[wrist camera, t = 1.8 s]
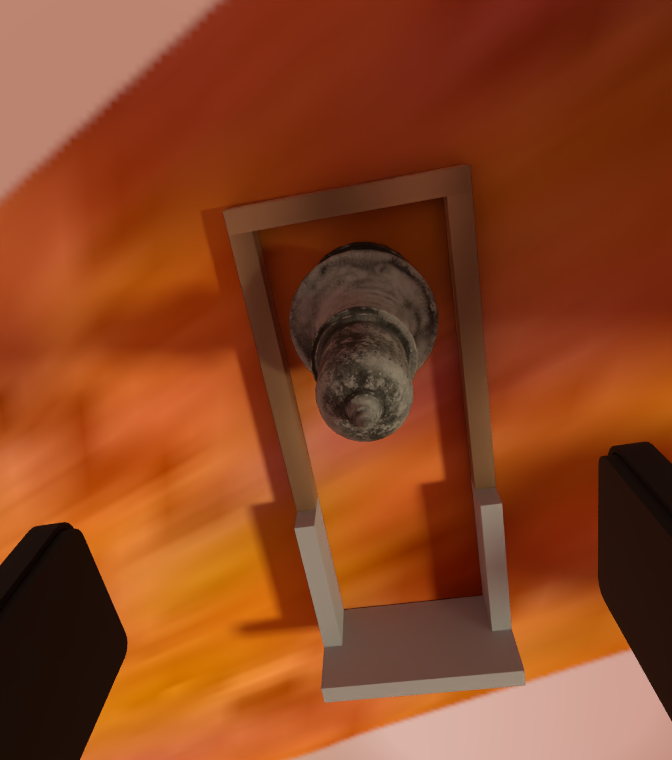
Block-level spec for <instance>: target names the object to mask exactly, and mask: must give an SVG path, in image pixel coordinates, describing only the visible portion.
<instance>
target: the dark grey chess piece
mask: <svg viewBox="0 0 672 760" xmlns="http://www.w3.org/2000/svg"><path fill="white" fill-rule="evenodd" d="M289 323H290V336H291V339H292V342H293V345H294V347H295V350H296V353H297V355H298V356H299V357H300V359H301V360H302V362H303V363H304V365H305V366H306V368H307V369H308V370H310V371H311V372H312V373H313V375H314V378H315V380H316V382H317V383H316V389H315V390H316V402H317V405H318V408H319V411H320V414H321V416H322V418H323V419H324V421H325V422H326V424H327V425H328V426H329V427H330V428H331V429H332V430H333V431H335V432H336V433H337V434H339V435H341V436H343V437H345V438H347V439H351V440H355V441H375V440H379V439H383V438H385V437H387V436H388V435H390V434H392V433H394V432H395V431H396V430H397V429H398V428H399V427H400V426H401V425H402V424H403V423H404V421H405V419H406V418H407V416H408V414H409V411H410V408H411V405H412V401H413V385H412V380H413V379H414V375H415V372H416V371H417V370H418V369H419V368H420V367H422V365H423V364H424V362H425V361H426V359H427V357H428V356H429V354H430V353H431V351H432V349H433V346H434V343H435V340H436V336H437V333H438V310H437V306H436V302H435V298H434V295H433V293H432V291H431V289H430V288H429V286H428V284H427V282H426V280H425V279H424V277H423V276H422V275H421V274H420V273H419V272H418V271H417V270H416V269H415V268H414V267H413V266H412V265H411V264H409V263H408V262H407V261H406V260H405V259H404V258H403V257H402V256H401V255H400V254H399V253H397V252H396V251H394V250H392V249H390V248H388V247H387V246H384V245H380V244H376V243H371V242H359V243H351V244H348V245H345V246H341V247H339V248H337V249H335V250H334V251H332V252H331V253H329V254H327V255H326V256H325V257H324V258H323V259H322V260H321V261H320V262H319V263H318V264H317V265H316V266H315V267H314V268H313V269H312V271H311V272H310V273H309V274H308V275H307V276H306V277H305V278H304V279H303V280H302V282H301V284H300V286H299V288H298V289H297V291H296V293H295V295H294V297H293V300H292V305H291V310H290V315H289Z"/></svg>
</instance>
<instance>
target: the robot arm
mask: <svg viewBox="0 0 672 760" xmlns="http://www.w3.org/2000/svg"><path fill="white" fill-rule="evenodd" d="M598 580H599V587H600V590H601V594H602V596H603V599H604V601H605V603H606V605H607V607H608V608H609V610H610V612H611V614H612V615H613V617H614V619H615V621H616V623H617V624H618V626H619V628H620V630H621V632H622V633H623V635H624V637H625V639H626V640H627V642H628V644H629V646H630V648H631V649H632V651H633V653H634V655H635V657H636V658H637V660H638V662H639V664H640V665H641V667H642V669H643V671H644V673H645V674H646V676H647V678H648V680H649V681H650V683H651V685H652V687H653V689H654V690H655V692H656V694H657V696H658V698H659V699H660V701H661V703H662V704H663V706H664V708H665V710H666V712H667V713H668V715H669V717H670V719H671V721H672V464H671V463H670V462H669V461H668V460H667V459H666V458H665V457H664V456H663V455H662V454H661V453H660V452H659V451H658V450H657V449H656V448H655V447H654V446H653V445H652V444H651V443H649V442H639V443H632V444H625V445H618V446H612V447H611V448H610V450H609V453H608V456H602V457H600V459H599V500H598ZM126 652H127V636H126V633H125V631H124V628H123V626H122V624H121V621H120V619H119V617H118V615H117V612H116V610H115V608H114V605H113V603H112V601H111V598H110V596H109V594H108V591H107V589H106V587H105V584H104V582H103V580H102V577H101V575H100V573H99V570H98V568H97V566H96V564H95V561H94V559H93V557H92V554H91V552H90V550H89V547H88V545H87V543H86V540H85V538H84V536H83V534H82V532H81V531H80V530H79V529H74V528H73V526H72V525H70V524H69V523H66V522H63V523H55V524H48V525H41V526H36V527H33V528H32V529H31V530H29V532H28V533H27V534H26V535H25V536H24V537H23V539H22V540H21V541H20V542H19V543H18V545H17V546H16V547H15V548H14V549H13V551H12V552H11V553H10V554H9V555H8V557H7V558H6V559H5V560H4V561H3V563H2V564H1V565H0V760H80V758H81V756H82V754H83V751H84V749H85V747H86V745H87V742H88V740H89V738H90V735H91V733H92V731H93V729H94V726H95V724H96V722H97V720H98V717H99V715H100V713H101V710H102V708H103V706H104V704H105V701H106V699H107V697H108V695H109V692H110V690H111V688H112V685H113V683H114V681H115V679H116V676H117V674H118V672H119V670H120V667H121V665H122V663H123V660H124V658H125V655H126Z"/></svg>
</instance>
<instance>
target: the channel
mask: <svg viewBox="0 0 672 760" xmlns="http://www.w3.org/2000/svg"><path fill="white" fill-rule="evenodd" d="M441 197H443V200H444V210H445V220H446V230H447V240H448V250H449V260H450V270H451V280H452V291H453V301H454V311H455V321H456V331H457V341H458V351H459V361H460V371H461V381H462V392H463V402H464V412H465V422H466V432H467V442H468V452H469V462H470V472H471V478H472V481H473V485H474V488H475V490H480V489H489V488H496V482H495V469H494V457H493V444H492V432H491V419H490V406H489V394H488V381H487V369H486V356H485V343H484V331H483V318H482V306H481V293H480V280H479V268H478V255H477V243H476V230H475V217H474V205H473V192H472V180H471V167H470V165H468V164H462V165H457V166H451V167H446V168H440V169H435V170H430V171H424V172H419V173H413V174H408V175H403V176H397V177H392V178H386V179H381V180H376V181H370V182H365V183H360V184H354V185H349V186H343V187H338V188H333V189H327V190H322V191H316V192H311V193H306V194H300V195H295V196H289V197H284V198H279V199H273V200H268V201H262V202H257V203H252V204H246V205H241V206H235V207H230V208H227V209H225V210H223V215H224V219H225V223H226V227H227V231H228V235H229V239H230V243H231V247H232V251H233V255H234V260H235V264H236V268H237V272H238V276H239V280H240V284H241V288H242V292H243V296H244V300H245V304H246V308H247V312H248V316H249V320H250V324H251V328H252V332H253V336H254V340H255V344H256V348H257V353H258V357H259V361H260V365H261V369H262V373H263V377H264V381H265V385H266V389H267V393H268V397H269V401H270V405H271V409H272V413H273V417H274V421H275V425H276V429H277V433H278V437H279V441H280V446H281V450H282V454H283V458H284V462H285V466H286V470H287V474H288V478H289V482H290V486H291V490H292V494H293V498H294V502H295V506H296V510H297V512H302V511H310V510H316V507H317V499H318V494H317V490H316V485H315V481H314V477H313V472H312V468H311V463H310V459H309V455H308V450H307V446H306V441H305V437H304V433H303V428H302V424H301V419H300V415H299V411H298V406H297V402H296V397H295V393H294V388H293V384H292V380H291V375H290V371H289V366H288V362H287V358H286V353H285V349H284V344H283V340H282V336H281V331H280V327H279V322H278V318H277V314H276V309H275V305H274V300H273V296H272V291H271V287H270V283H269V278H268V274H267V269H266V265H265V261H264V256H263V252H262V247H261V243H260V239H259V234H258V230H263V229H268V228H274V227H279V226H285V225H290V224H296V223H302V222H307V221H313V220H318V219H324V218H329V217H335V216H341V215H346V214H352V213H357V212H363V211H368V210H374V209H379V208H385V207H391V206H396V205H402V204H407V203H413V202H418V201H424V200H429V199H435V198H441Z"/></svg>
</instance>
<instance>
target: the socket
mask: <svg viewBox="0 0 672 760" xmlns="http://www.w3.org/2000/svg"><path fill="white" fill-rule="evenodd" d="M471 483H472V493H473V503H474V513H475V523H476V533H477V543H478V553H479V563H480V573H481V584H482V594H483V595H482V596H473V597H463V598H453V599H444V600H434V601H424V602H415V603H405V604H395V605H386V606H376V607H366V608H356V609H347V610H344V609H343V605H342V600H341V596H340V591H339V587H338V583H337V578H336V574H335V569H334V565H333V560H332V556H331V552H330V547H329V543H328V538H327V534H326V530H325V525H324V521H323V516H322V512H321V508H320V503H319V499H317V507H316V510H310V511H302V512H297V515H296V521H295V526H294V530H295V534H296V538H297V542H298V546H299V549H300V553H301V557H302V561H303V565H304V569H305V573H306V577H307V581H308V585H309V589H310V593H311V597H312V601H313V605H314V609H315V613H316V617H317V621H318V625H319V629H320V632H321V636H322V640H323V644H324V658H323V671H322V685H321V690H322V694H323V697H324V701H325V702H337V701H348V700H360V699H372V698H383V697H395V696H407V695H418V694H430V693H442V692H453V691H465V690H477V689H488V688H500V687H512V686H523V685H525V671H524V668H523V664H522V661H521V658H520V655H519V652H518V648H517V645H516V642H515V639H514V635H513V632H512V628H511V615H510V601H509V588H508V575H507V562H506V548H505V535H504V522H503V508H502V502H501V499H500V497H499V494H498V492H497V489H496V488H489V489H480V490H475V488H474V485H473V481H472V478H471Z"/></svg>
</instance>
